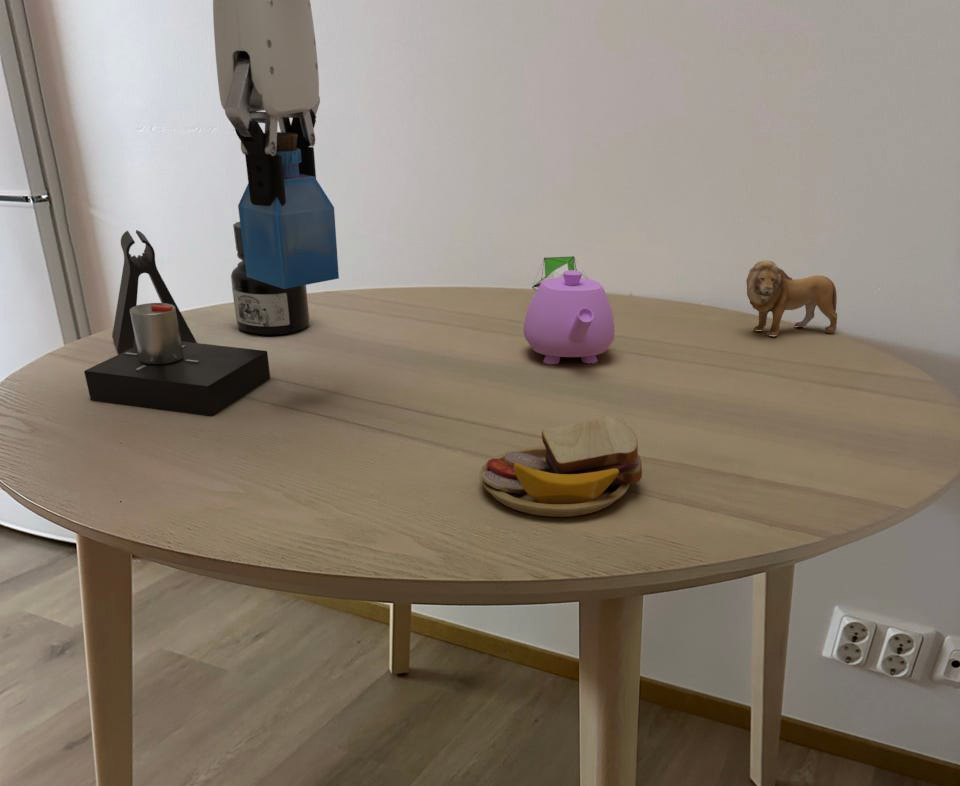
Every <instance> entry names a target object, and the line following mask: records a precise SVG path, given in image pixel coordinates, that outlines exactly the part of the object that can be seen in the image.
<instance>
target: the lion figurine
mask: <svg viewBox="0 0 960 786" xmlns="http://www.w3.org/2000/svg"><path fill="white" fill-rule="evenodd" d="M746 296H747V298H748V301H749V304H750V305H751V306H752V308H753V309H754V310H756V311H757V312H758V325H756V326H754V327H753V328H752V330H753V329H754V330H763V331H764V329H765V327H766V326H767V319H768V315H769V313H770V312H771V314H772V322H771V326H770V329H769V331H768V332H767V333H766V335H767V334H768V335H777V334H778V335H779V333H780V324H781V321H782V317H783V315H784V313H785V311H795V310H798V309H800V308H802V307H805V315H804V318H803V319H802V320H801V321H797V322H796V323H795V324H794V327H795V326H798V327H804V328H805V327H806V326H807V325H808V324H809V323H810V322H811V321H812V320H813V319H814V318H815V310H816V307H817V308H818V309H819V311H820V312H821V313H822V314H823V315H824V316H825V317H826V318H827V319H828V320H829V322H830V324H829V325H828V326H826V327H825V328H824V332H825V333H827V332H828V333H827V334H834V333H835V332H836V329H837V324H838V312H836V311H837V303H838V299H837V296H838V294H837V289H836V285H835V283H834V282H833V280H832V279H831V278H829V277H828V276H825V275H811V276H808V277H803V278H797V279H793V278H792V277H790V276H789V275H788V274H787V273H786V272H785V271H784V270H783V269H782V268H780V267H779V266H778V265H777V264H776V263H775V262H774V261H772V260H769V259H767V260H761V261H760V260H759V261H757V262H756V263H755V264H754V265H753V267H751V268H750V269H749V270H748V274H747V277H746ZM778 335H777V336H778Z"/></svg>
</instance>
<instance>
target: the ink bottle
mask: <svg viewBox="0 0 960 786" xmlns="http://www.w3.org/2000/svg"><path fill="white" fill-rule="evenodd" d="M232 226H233V233H234V234H233V235H234V242H235V250H236V252H237V253H236V257H237V258H238V259H239V260H241V261H239V262H238V263H237V266H236V267H235V268H234V269H233V270H232V272H231V274H230V282H231V290H232V291H231V292H232V297H233V304H234V314H235V319H236V324H237V327H238V329H240V330H241V331H243V332H246V333H249V334H250V333H251V334H256V335H265V336H277V335H287V334H291V333H294V332H298V331H301V330H302V329H305V328H307V326H309V324H310V312H309V301H308V292H307V290H308V289H307V285H303V286H297V287H292V288H287V289H283V288H279V287H276V286H273V285H270V284H267V283H264V282H261V281H258V280H255V279H252V278H249V277H247V275H246V267H245V259H244V251H243V242H242V234H241V226H240V221H236V222H234V223H233V224H232Z"/></svg>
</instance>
